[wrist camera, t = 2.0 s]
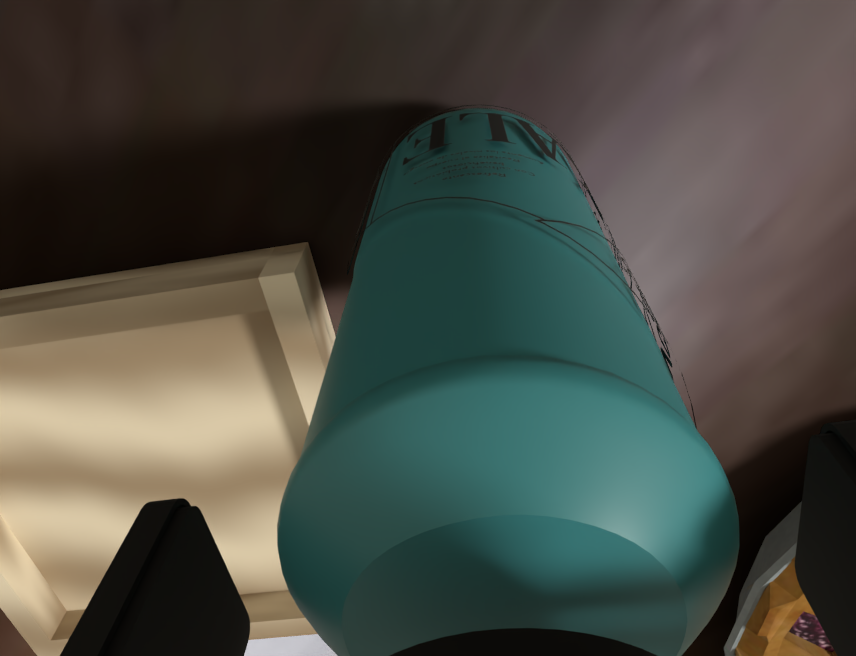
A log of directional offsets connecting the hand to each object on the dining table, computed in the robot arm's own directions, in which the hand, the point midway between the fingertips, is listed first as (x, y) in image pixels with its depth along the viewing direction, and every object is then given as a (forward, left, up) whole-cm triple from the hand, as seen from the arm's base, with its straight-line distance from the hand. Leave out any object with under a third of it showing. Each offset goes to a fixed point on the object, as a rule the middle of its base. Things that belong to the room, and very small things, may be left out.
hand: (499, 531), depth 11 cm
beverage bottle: (-1, 0, -14) cm, 14 cm away
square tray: (+9, -15, -14) cm, 23 cm away
